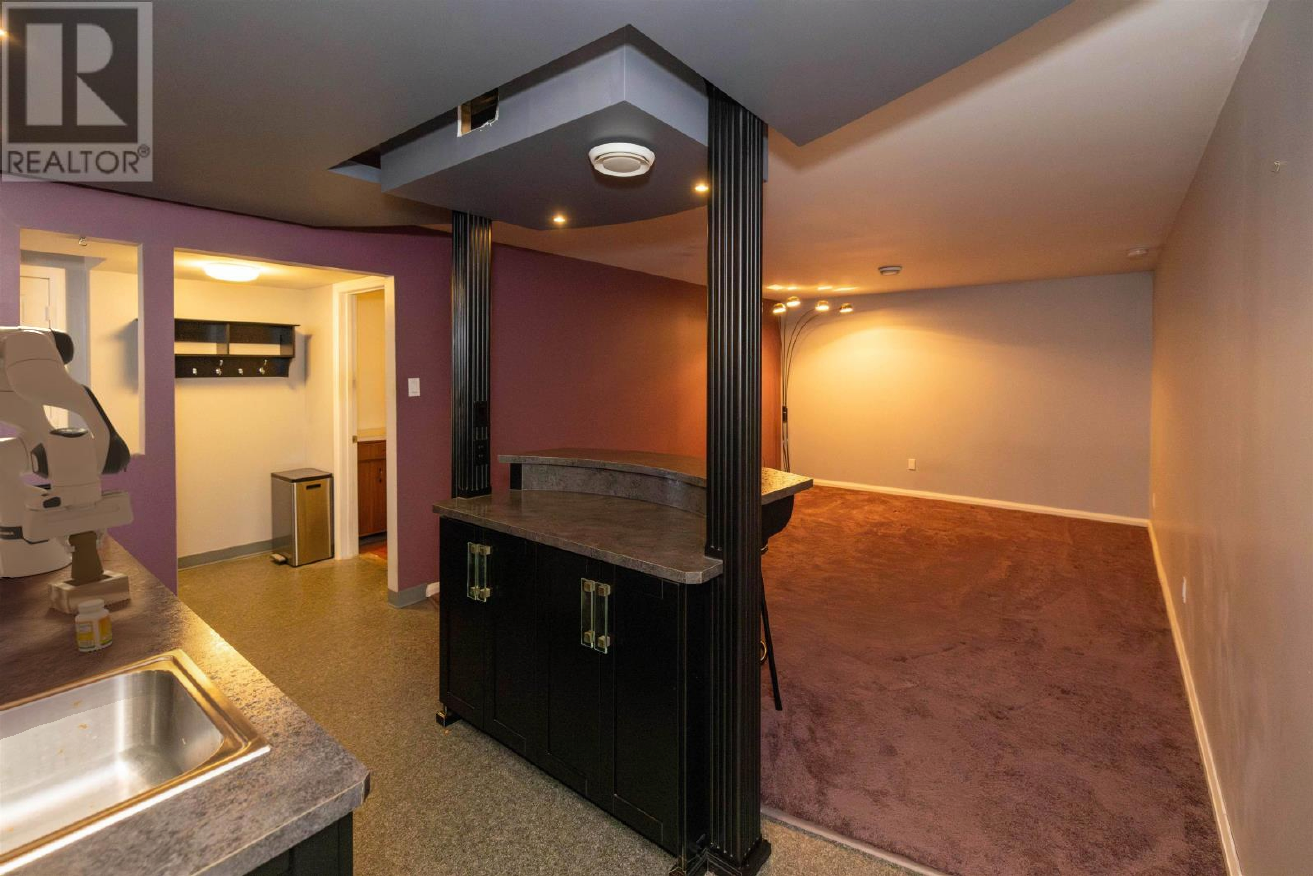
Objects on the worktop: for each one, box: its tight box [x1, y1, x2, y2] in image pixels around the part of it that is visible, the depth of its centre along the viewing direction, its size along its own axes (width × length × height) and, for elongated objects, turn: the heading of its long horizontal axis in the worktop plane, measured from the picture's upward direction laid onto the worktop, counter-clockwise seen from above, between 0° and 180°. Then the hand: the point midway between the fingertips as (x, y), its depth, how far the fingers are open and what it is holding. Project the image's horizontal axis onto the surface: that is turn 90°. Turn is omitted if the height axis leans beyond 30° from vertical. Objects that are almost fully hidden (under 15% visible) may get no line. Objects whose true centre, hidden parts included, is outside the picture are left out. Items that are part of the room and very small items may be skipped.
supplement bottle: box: [74, 599, 113, 653], centre depth 129 cm, size 5×5×10 cm
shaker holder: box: [47, 569, 131, 616], centre depth 154 cm, size 11×11×6 cm
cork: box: [67, 530, 105, 579], centre depth 153 cm, size 6×6×11 cm
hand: (84, 550), depth 153 cm, fingers closed on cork, 4 cm apart
